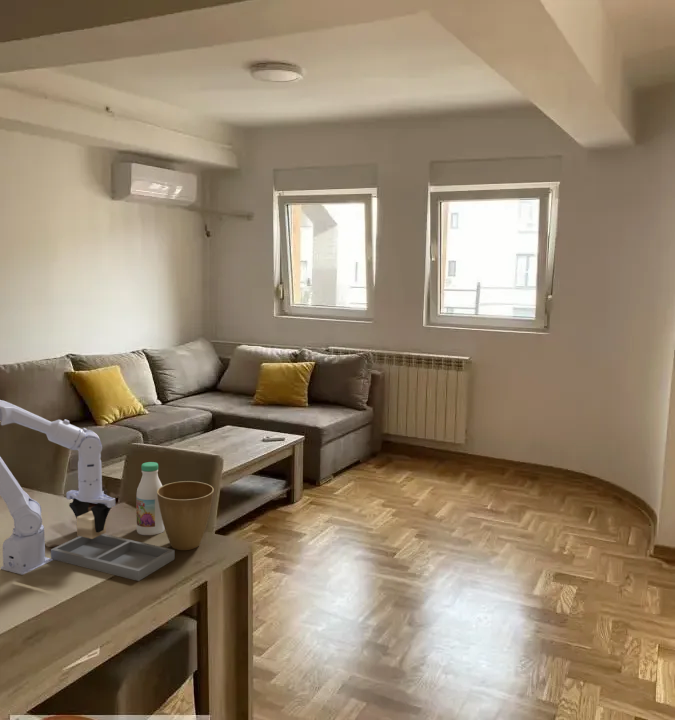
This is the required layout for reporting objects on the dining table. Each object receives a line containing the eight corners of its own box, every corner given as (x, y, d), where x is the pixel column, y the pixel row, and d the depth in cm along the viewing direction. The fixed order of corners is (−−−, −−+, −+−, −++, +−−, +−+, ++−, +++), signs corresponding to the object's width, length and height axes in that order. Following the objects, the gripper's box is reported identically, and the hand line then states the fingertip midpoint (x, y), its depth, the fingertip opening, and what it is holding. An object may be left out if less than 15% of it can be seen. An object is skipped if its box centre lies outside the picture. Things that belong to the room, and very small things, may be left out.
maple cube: (92, 539, 179) (91, 520, 178) (77, 535, 181) (76, 517, 180) (105, 532, 183) (105, 514, 182) (91, 529, 185) (90, 510, 184)
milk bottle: (153, 524, 205) (153, 458, 202) (170, 531, 200) (169, 463, 197) (131, 532, 199) (130, 463, 196) (147, 539, 194) (146, 469, 192)
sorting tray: (138, 582, 168) (138, 571, 168) (51, 560, 179) (50, 549, 179) (174, 560, 181) (174, 549, 180) (90, 541, 192) (90, 530, 191)
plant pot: (145, 550, 187) (145, 492, 185) (182, 532, 200) (182, 477, 198) (189, 562, 180) (189, 502, 178) (224, 542, 193) (224, 486, 191)
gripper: (123, 478, 181) (124, 528, 182) (79, 470, 186) (81, 519, 188) (103, 486, 174) (105, 538, 176) (59, 477, 180) (61, 528, 182)
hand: (91, 529), depth 182 cm, fingers closed on maple cube, 5 cm apart
